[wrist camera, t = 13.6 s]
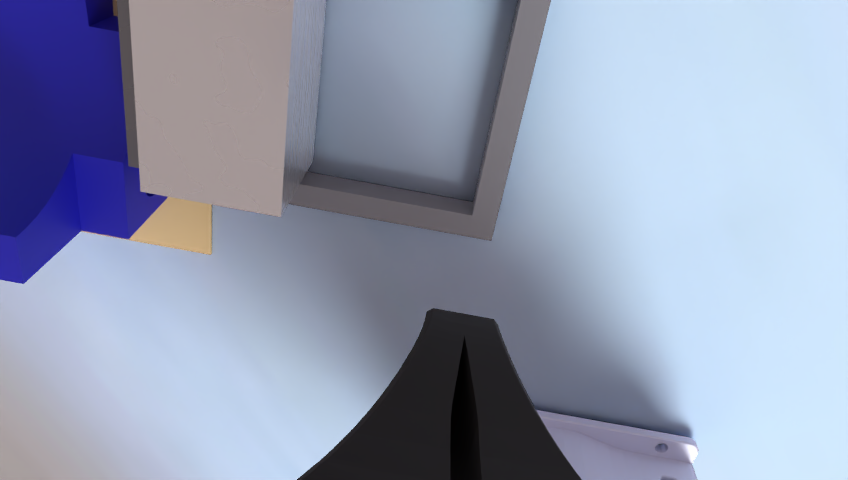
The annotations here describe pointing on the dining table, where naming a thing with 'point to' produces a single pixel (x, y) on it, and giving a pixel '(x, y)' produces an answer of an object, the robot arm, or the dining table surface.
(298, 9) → the block
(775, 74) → the dining table surface
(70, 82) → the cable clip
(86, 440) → the dining table surface
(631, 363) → the dining table surface
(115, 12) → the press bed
